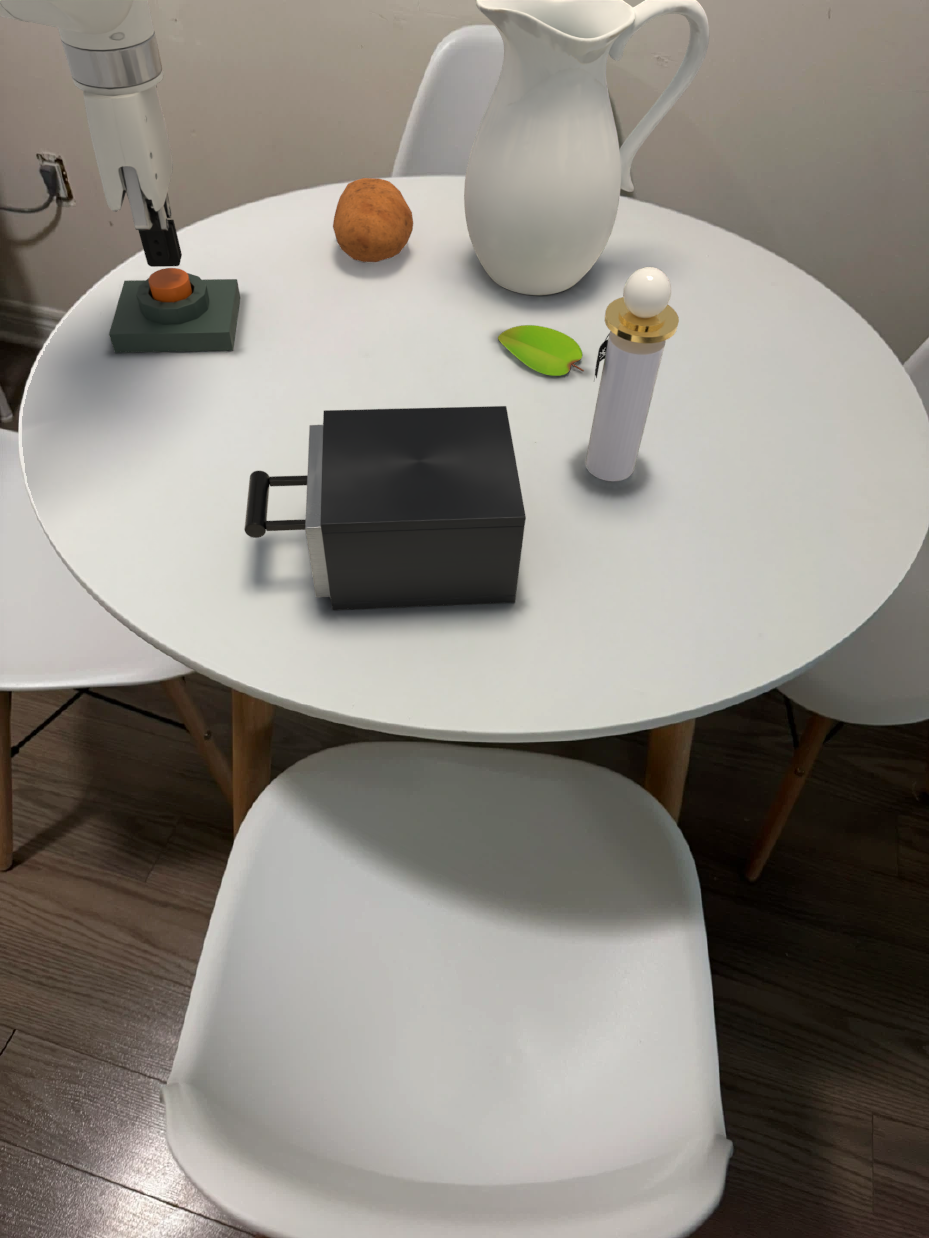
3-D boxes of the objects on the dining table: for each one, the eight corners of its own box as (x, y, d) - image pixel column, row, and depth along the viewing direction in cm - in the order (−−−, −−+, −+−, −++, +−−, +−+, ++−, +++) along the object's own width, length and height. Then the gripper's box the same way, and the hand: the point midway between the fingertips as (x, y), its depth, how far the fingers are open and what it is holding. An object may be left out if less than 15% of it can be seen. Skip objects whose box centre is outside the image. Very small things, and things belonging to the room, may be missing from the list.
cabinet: (332, 610, 70) (320, 524, 63) (333, 499, 78) (323, 410, 70) (515, 602, 71) (525, 517, 64) (498, 493, 79) (506, 405, 72)
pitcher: (473, 315, 97) (488, 24, 75) (451, 237, 107) (458, -39, 85) (681, 303, 100) (753, 21, 78) (640, 228, 110) (693, -40, 88)
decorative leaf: (523, 387, 90) (524, 380, 89) (493, 335, 94) (493, 327, 94) (592, 370, 91) (593, 362, 90) (559, 319, 96) (559, 312, 95)
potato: (419, 233, 107) (419, 170, 102) (405, 282, 100) (404, 218, 95) (345, 226, 108) (340, 163, 102) (326, 274, 101) (320, 210, 95)
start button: (149, 304, 90) (145, 289, 88) (155, 283, 92) (151, 267, 91) (189, 304, 90) (186, 288, 89) (194, 283, 92) (190, 267, 91)
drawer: (252, 600, 69) (234, 530, 63) (261, 498, 77) (246, 426, 70) (485, 590, 71) (491, 521, 65) (473, 491, 78) (477, 420, 72)
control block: (114, 353, 90) (103, 318, 87) (129, 298, 96) (119, 264, 93) (233, 350, 91) (226, 316, 88) (240, 297, 97) (234, 263, 94)
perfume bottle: (650, 466, 82) (703, 266, 67) (621, 500, 79) (669, 300, 64) (596, 442, 84) (635, 242, 68) (566, 474, 81) (600, 274, 65)
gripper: (84, 25, 78) (138, 225, 93) (49, 96, 69) (115, 305, 84) (170, 26, 79) (210, 224, 93) (147, 96, 70) (195, 303, 84)
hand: (165, 262), depth 88 cm, fingers closed
